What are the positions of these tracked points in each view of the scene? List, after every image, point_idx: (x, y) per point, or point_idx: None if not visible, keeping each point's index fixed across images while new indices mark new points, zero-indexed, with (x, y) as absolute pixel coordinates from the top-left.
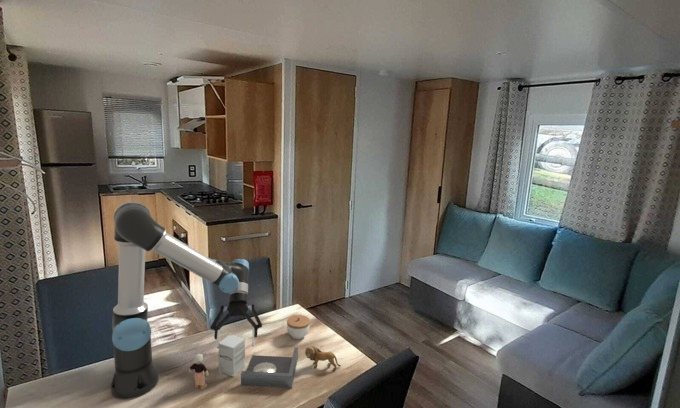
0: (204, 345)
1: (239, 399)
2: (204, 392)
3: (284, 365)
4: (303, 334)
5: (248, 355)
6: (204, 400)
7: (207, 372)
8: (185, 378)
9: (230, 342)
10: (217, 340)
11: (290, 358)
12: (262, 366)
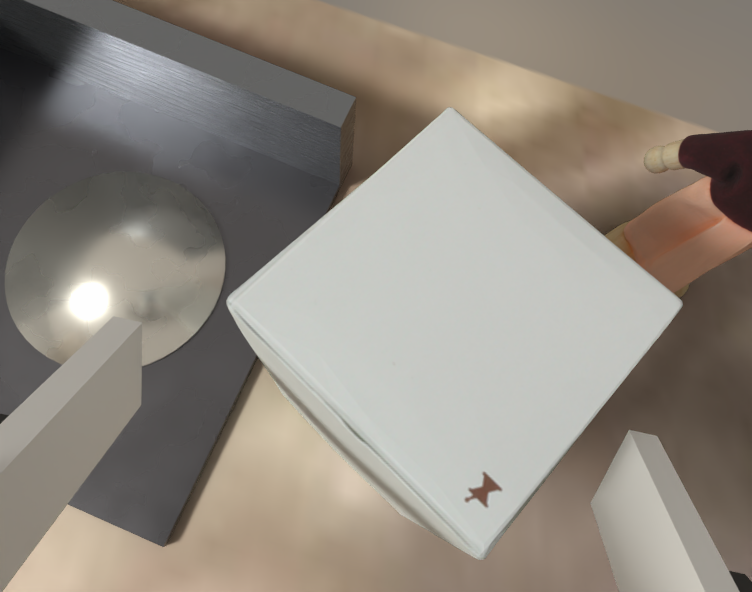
0: None
1: (378, 44)
2: (611, 183)
3: None
4: None
5: (207, 575)
6: (603, 110)
7: (666, 146)
8: None
9: (489, 248)
10: (684, 507)
11: None
12: (123, 316)
